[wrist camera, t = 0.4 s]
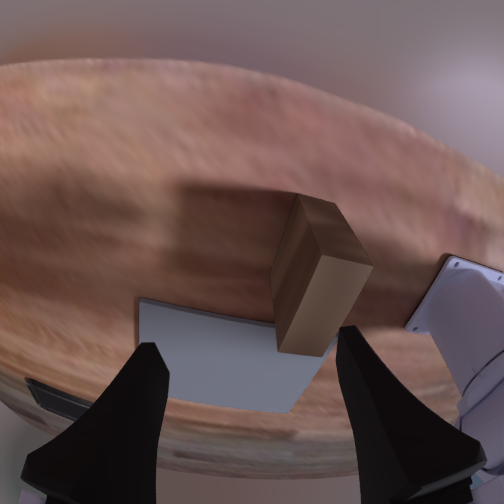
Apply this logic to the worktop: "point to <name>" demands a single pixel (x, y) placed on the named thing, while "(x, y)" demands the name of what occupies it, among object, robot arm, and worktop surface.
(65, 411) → the phone
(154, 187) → the worktop surface
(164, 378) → the robot arm
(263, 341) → the rubber mat
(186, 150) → the worktop surface
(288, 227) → the brown wooden block
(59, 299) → the worktop surface
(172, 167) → the worktop surface
